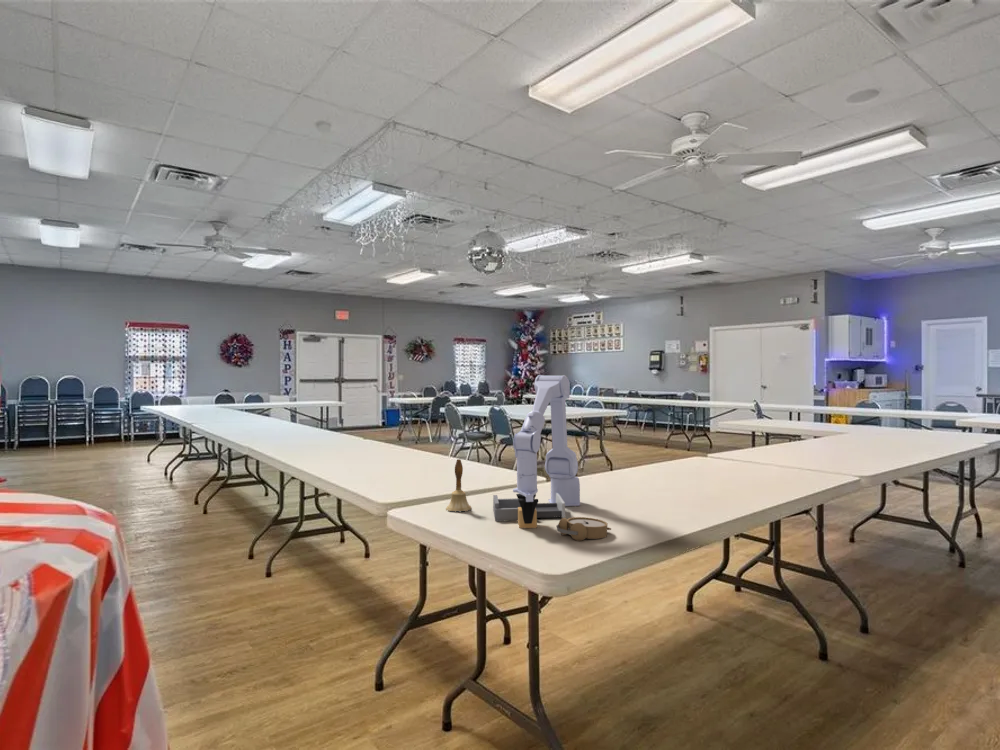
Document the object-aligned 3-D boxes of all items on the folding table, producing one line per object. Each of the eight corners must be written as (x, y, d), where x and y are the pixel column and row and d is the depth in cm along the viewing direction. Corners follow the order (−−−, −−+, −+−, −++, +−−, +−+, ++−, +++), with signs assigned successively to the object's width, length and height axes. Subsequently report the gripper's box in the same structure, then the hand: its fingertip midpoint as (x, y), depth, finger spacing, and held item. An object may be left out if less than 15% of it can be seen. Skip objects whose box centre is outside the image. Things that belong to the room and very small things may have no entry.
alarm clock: (617, 525, 153) (575, 524, 145) (614, 543, 153) (572, 543, 145) (589, 515, 162) (548, 514, 155) (587, 533, 162) (546, 532, 154)
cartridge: (535, 523, 165) (535, 506, 164) (536, 527, 161) (536, 510, 160) (518, 524, 164) (517, 507, 164) (519, 528, 160) (519, 510, 160)
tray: (558, 507, 181) (558, 493, 181) (565, 518, 169) (565, 503, 168) (522, 508, 181) (522, 493, 181) (527, 519, 168) (526, 504, 168)
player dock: (530, 509, 181) (530, 493, 181) (535, 520, 168) (535, 503, 168) (493, 509, 180) (493, 494, 180) (495, 521, 167) (494, 504, 167)
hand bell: (447, 505, 186) (447, 457, 186) (472, 505, 186) (472, 457, 185) (444, 512, 178) (443, 462, 177) (470, 512, 178) (470, 461, 177)
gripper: (511, 469, 169) (511, 514, 169) (515, 479, 155) (515, 528, 155) (534, 468, 169) (534, 513, 170) (540, 478, 155) (541, 528, 155)
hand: (527, 520), depth 162 cm, fingers closed on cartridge, 4 cm apart
